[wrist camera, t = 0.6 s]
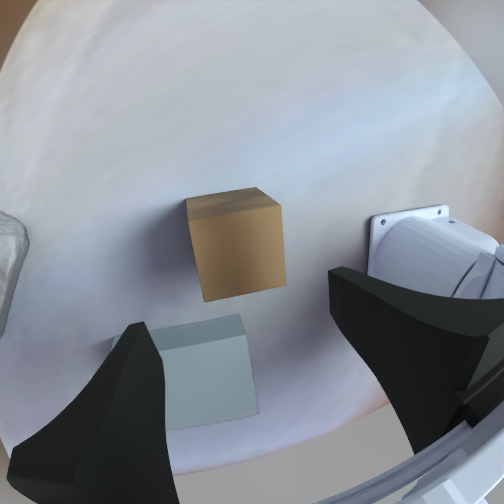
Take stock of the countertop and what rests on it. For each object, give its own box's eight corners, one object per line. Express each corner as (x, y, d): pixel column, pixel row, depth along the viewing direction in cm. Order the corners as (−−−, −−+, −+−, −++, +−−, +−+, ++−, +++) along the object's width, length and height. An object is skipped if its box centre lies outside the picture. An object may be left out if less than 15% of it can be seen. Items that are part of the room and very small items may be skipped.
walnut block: (255, 187, 19) (280, 205, 14) (261, 250, 21) (285, 285, 16) (185, 198, 18) (187, 221, 13) (197, 263, 20) (204, 302, 15)
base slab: (237, 310, 22) (246, 334, 20) (251, 390, 27) (258, 413, 24) (114, 332, 21) (109, 358, 18) (152, 408, 25) (153, 432, 22)
